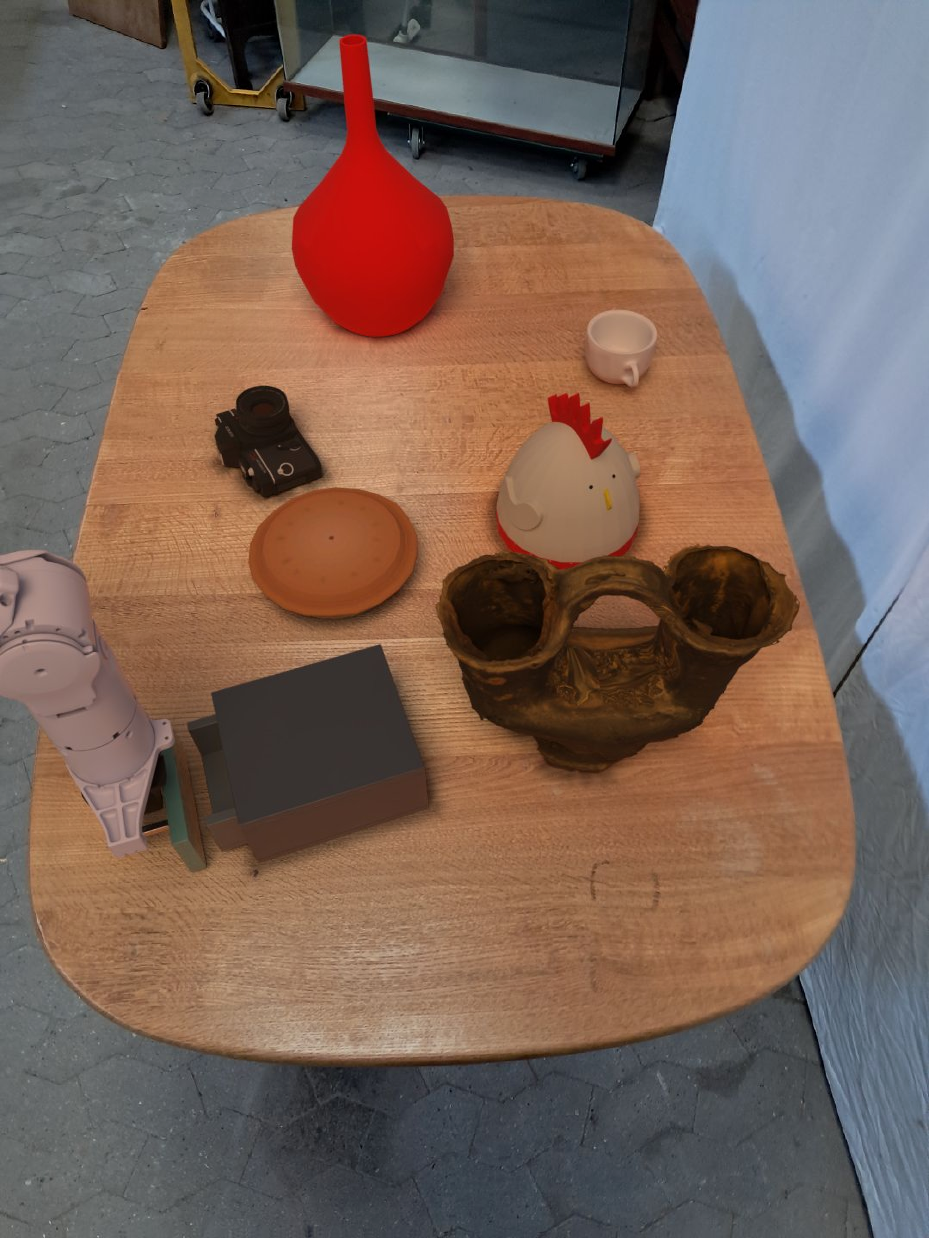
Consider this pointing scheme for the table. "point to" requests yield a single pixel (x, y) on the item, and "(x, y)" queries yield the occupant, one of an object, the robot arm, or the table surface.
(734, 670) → the pottery vessel
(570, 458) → the kitchen timer
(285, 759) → the dark grey storage box
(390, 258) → the vase
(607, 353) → the teacup
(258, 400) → the film camera
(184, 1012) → the table surface
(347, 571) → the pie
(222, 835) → the drawer
